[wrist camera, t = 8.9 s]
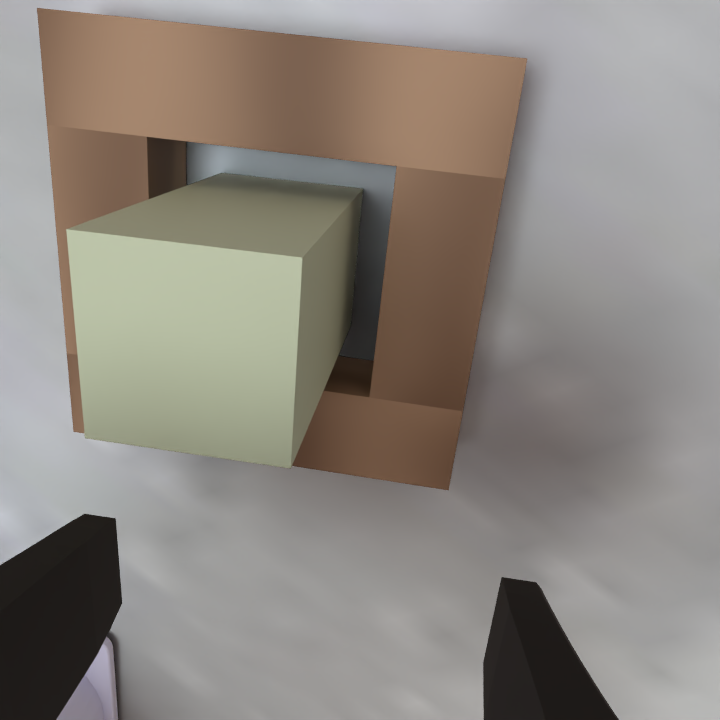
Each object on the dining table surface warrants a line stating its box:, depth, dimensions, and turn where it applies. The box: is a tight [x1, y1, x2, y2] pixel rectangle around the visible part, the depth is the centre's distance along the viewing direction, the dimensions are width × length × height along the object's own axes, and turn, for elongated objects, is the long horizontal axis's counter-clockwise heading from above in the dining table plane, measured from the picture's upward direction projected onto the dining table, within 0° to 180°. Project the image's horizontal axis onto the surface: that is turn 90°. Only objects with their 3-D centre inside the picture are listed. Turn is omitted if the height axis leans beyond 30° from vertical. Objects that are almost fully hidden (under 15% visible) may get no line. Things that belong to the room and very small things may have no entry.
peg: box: [66, 173, 363, 469], centre depth 15 cm, size 4×4×8 cm
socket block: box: [37, 8, 527, 490], centre depth 18 cm, size 11×11×2 cm
